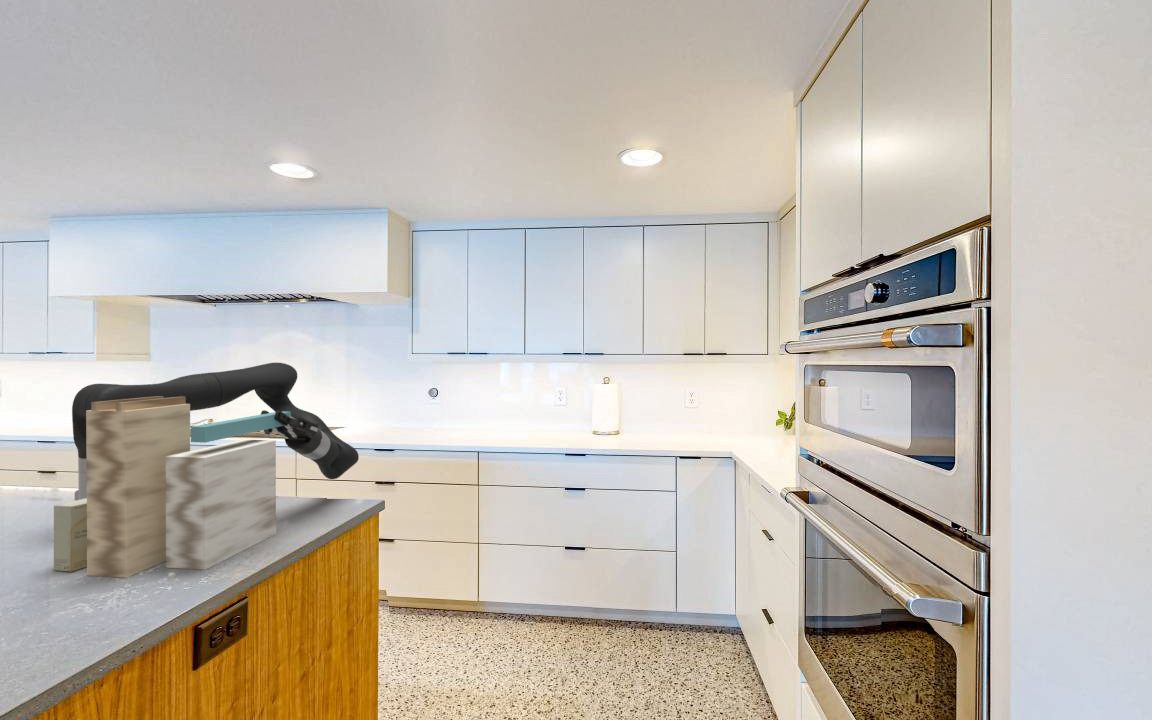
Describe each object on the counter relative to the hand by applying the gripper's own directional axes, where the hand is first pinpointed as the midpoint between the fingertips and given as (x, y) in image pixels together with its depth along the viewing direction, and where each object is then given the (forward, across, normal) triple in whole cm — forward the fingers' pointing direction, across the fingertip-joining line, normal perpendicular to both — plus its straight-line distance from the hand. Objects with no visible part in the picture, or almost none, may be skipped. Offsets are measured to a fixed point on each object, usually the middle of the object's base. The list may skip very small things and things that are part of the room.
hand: (269, 414), depth 125 cm
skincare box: (+8, -21, +35) cm, 42 cm away
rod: (+5, 0, +6) cm, 8 cm away
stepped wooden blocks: (+1, -5, +31) cm, 31 cm away
